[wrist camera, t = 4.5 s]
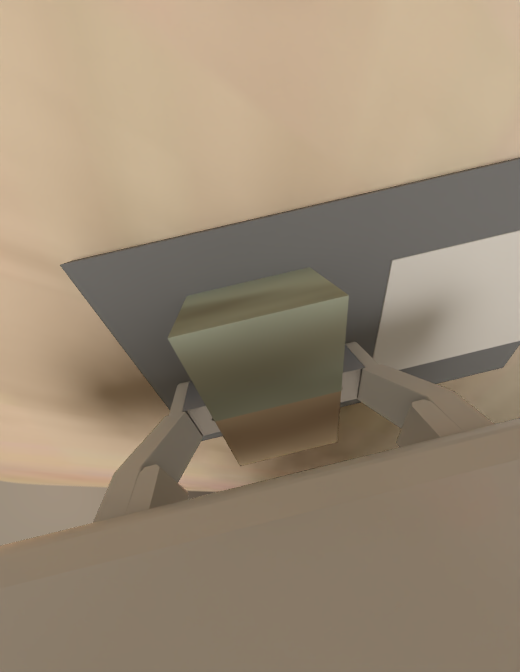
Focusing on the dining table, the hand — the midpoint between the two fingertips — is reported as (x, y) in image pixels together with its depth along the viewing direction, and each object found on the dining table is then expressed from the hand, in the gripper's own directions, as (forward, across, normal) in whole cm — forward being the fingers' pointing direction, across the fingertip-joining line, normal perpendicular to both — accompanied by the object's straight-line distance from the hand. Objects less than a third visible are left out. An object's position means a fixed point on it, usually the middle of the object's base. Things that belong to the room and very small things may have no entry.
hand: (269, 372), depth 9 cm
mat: (+2, -5, 0) cm, 5 cm away
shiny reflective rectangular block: (+1, 0, 0) cm, 1 cm away
